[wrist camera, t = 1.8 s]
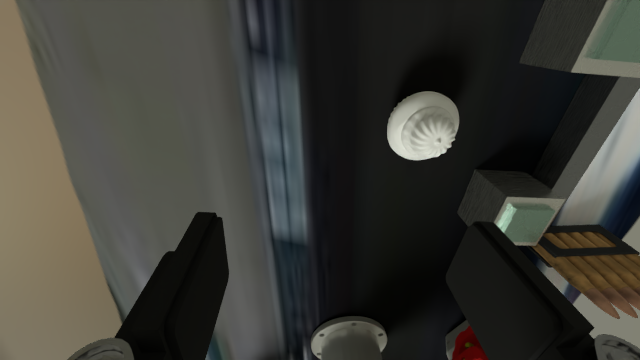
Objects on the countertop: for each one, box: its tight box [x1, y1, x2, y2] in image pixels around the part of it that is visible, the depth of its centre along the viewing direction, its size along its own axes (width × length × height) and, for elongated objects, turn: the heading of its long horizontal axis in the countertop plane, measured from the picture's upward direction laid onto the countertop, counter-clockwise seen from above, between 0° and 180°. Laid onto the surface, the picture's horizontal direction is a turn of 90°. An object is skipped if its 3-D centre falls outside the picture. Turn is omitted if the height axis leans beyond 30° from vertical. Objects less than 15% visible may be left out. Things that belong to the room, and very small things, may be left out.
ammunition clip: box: [526, 225, 640, 319], centre depth 30 cm, size 11×2×12 cm, turn 90°
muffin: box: [387, 91, 459, 160], centre depth 23 cm, size 6×6×7 cm
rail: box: [457, 0, 640, 246], centre depth 25 cm, size 24×9×6 cm, turn 175°
